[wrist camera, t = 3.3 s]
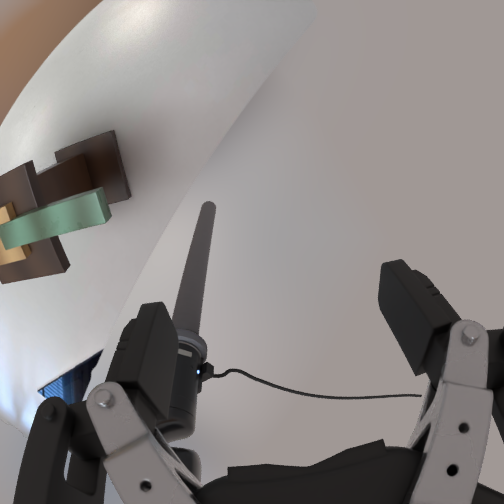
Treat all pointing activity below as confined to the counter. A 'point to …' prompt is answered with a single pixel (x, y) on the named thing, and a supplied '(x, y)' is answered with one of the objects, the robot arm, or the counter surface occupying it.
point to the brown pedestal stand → (60, 196)
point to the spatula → (49, 222)
